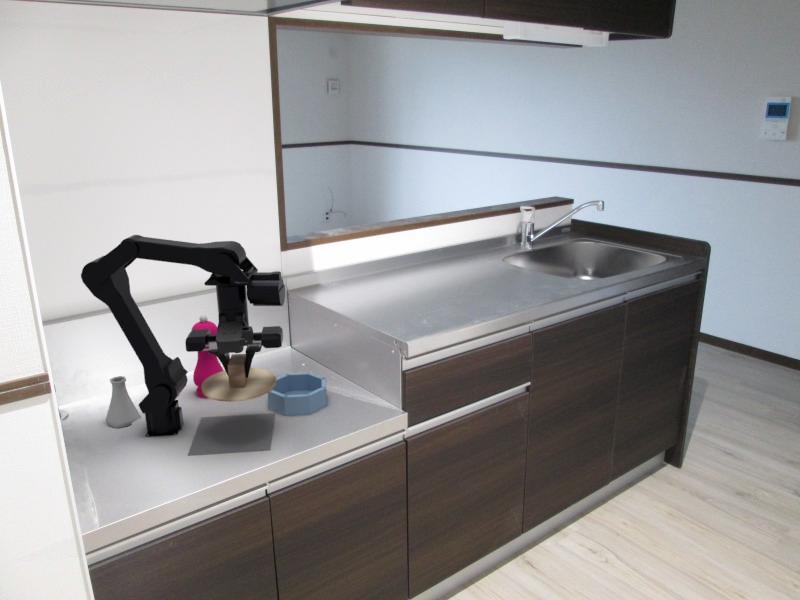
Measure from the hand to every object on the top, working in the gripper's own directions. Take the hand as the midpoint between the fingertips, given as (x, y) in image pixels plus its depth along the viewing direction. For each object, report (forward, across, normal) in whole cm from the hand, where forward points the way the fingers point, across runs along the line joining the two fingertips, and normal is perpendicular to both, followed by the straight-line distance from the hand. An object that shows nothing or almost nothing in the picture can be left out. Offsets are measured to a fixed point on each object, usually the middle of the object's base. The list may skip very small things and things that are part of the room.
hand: (238, 377), depth 132 cm
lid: (+2, 0, 0) cm, 2 cm away
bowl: (+13, +11, +12) cm, 20 cm away
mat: (+12, -2, -2) cm, 13 cm away
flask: (+13, -27, +8) cm, 31 cm away
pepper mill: (+13, -10, +19) cm, 25 cm away
